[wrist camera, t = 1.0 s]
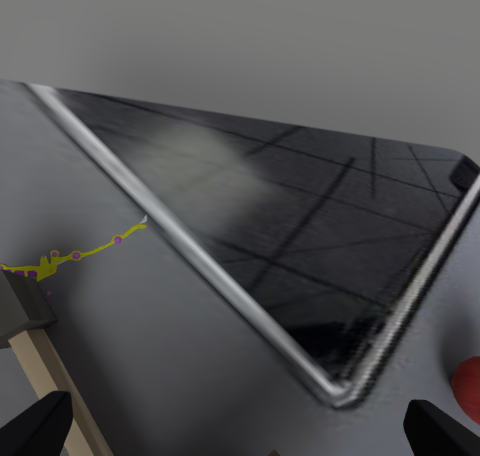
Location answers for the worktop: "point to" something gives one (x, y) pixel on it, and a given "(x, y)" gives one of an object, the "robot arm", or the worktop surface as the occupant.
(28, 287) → the wooden mallet
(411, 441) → the robot arm
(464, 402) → the onion
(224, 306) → the worktop surface
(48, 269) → the decorative knife
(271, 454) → the walnut cabinet
